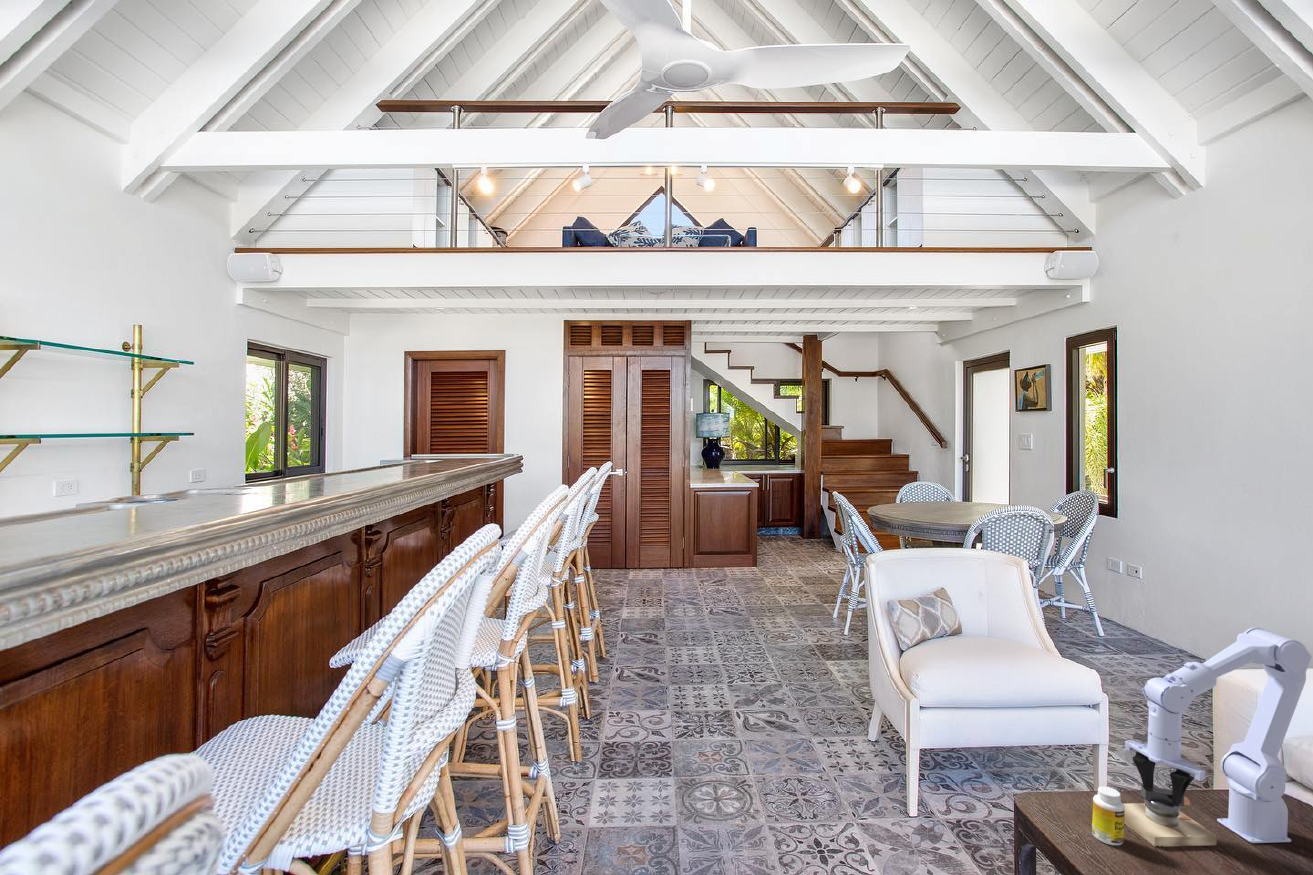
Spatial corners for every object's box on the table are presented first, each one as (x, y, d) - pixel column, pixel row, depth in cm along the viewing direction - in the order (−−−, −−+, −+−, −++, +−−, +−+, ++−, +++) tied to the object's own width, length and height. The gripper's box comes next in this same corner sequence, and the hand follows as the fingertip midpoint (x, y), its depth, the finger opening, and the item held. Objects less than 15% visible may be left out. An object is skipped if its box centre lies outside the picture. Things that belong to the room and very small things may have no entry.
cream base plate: (1167, 811, 148) (1167, 793, 147) (1216, 844, 136) (1217, 826, 136) (1109, 812, 146) (1110, 795, 146) (1154, 846, 135) (1155, 827, 134)
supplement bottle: (1116, 850, 133) (1118, 801, 133) (1087, 835, 138) (1088, 788, 138) (1128, 841, 136) (1129, 793, 136) (1098, 827, 141) (1100, 781, 141)
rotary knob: (1137, 798, 145) (1138, 780, 145) (1181, 805, 142) (1182, 788, 142) (1148, 812, 139) (1148, 794, 139) (1194, 821, 137) (1194, 802, 137)
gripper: (1117, 724, 146) (1115, 783, 146) (1193, 754, 133) (1191, 819, 133) (1135, 719, 149) (1133, 777, 149) (1211, 747, 136) (1209, 811, 136)
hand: (1162, 796), depth 141 cm, fingers closed on rotary knob, 5 cm apart
